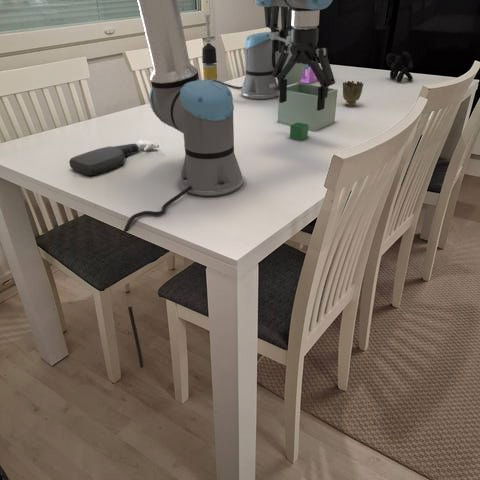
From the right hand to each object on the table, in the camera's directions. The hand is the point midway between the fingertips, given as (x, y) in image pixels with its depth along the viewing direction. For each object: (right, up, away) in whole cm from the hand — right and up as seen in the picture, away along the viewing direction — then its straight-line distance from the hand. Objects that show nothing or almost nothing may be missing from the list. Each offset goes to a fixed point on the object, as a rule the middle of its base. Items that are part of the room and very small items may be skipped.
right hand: (278, 51), depth 147 cm
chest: (+9, -22, +4) cm, 24 cm away
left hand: (+5, -22, -14) cm, 27 cm away
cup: (+29, -12, +20) cm, 37 cm away
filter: (-24, -5, +32) cm, 41 cm away
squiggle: (+59, +10, +54) cm, 80 cm away
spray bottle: (-47, -40, -22) cm, 65 cm away
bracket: (+19, +11, +57) cm, 61 cm away
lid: (+5, -4, -3) cm, 7 cm away
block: (+5, -31, -9) cm, 32 cm away
